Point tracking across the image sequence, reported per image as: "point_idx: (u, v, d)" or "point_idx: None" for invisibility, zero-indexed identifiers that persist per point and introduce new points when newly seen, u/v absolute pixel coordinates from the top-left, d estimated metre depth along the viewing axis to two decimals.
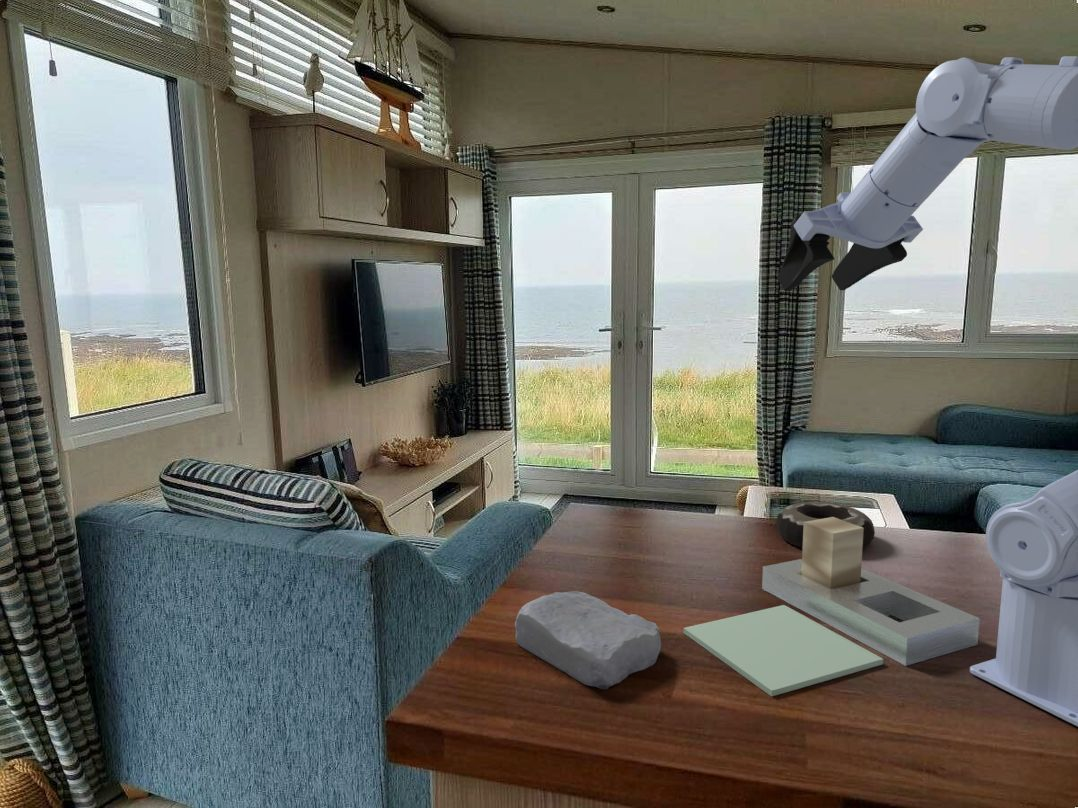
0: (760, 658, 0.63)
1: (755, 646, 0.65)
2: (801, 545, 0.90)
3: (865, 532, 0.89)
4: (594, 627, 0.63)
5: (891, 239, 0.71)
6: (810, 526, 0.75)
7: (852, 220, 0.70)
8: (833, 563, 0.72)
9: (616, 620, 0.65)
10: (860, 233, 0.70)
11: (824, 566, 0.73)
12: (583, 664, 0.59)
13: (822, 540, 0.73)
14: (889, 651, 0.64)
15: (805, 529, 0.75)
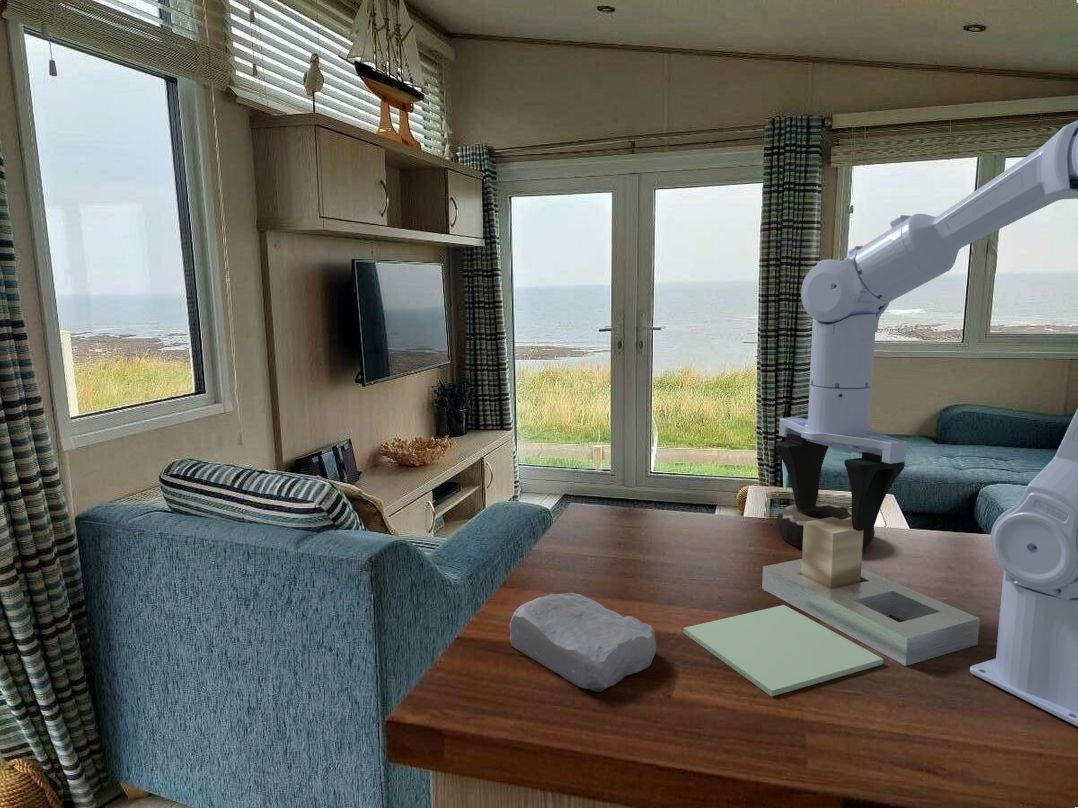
0: (760, 658, 0.63)
1: (755, 646, 0.65)
2: (801, 545, 0.90)
3: (865, 532, 0.89)
4: (588, 629, 0.63)
5: None
6: (810, 526, 0.75)
7: (865, 426, 0.71)
8: (833, 563, 0.72)
9: (611, 622, 0.64)
10: (869, 429, 0.72)
11: (824, 566, 0.73)
12: (578, 666, 0.59)
13: (822, 540, 0.73)
14: (889, 651, 0.64)
15: (805, 529, 0.75)
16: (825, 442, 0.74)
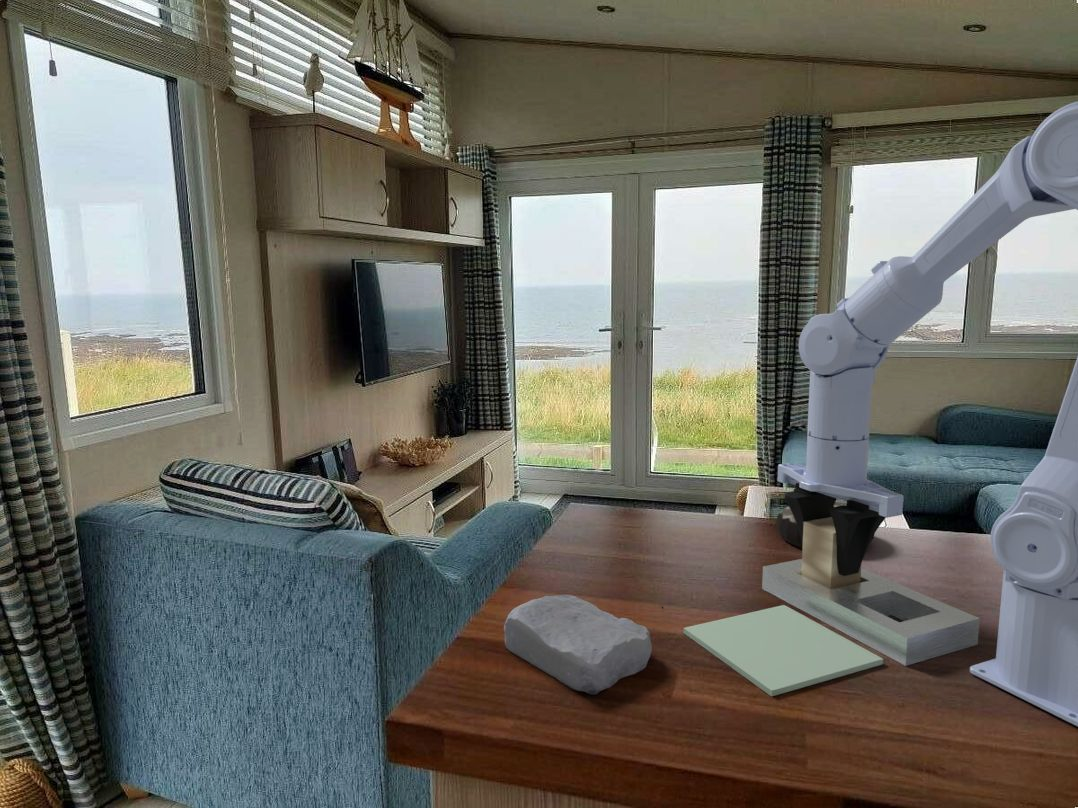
0: (760, 658, 0.63)
1: (755, 646, 0.65)
2: (801, 545, 0.90)
3: None
4: (583, 631, 0.62)
5: None
6: (810, 526, 0.75)
7: (863, 477, 0.71)
8: (833, 563, 0.72)
9: (606, 624, 0.64)
10: (866, 479, 0.73)
11: (824, 565, 0.73)
12: (573, 669, 0.59)
13: (822, 540, 0.73)
14: (889, 651, 0.64)
15: (805, 529, 0.75)
16: None
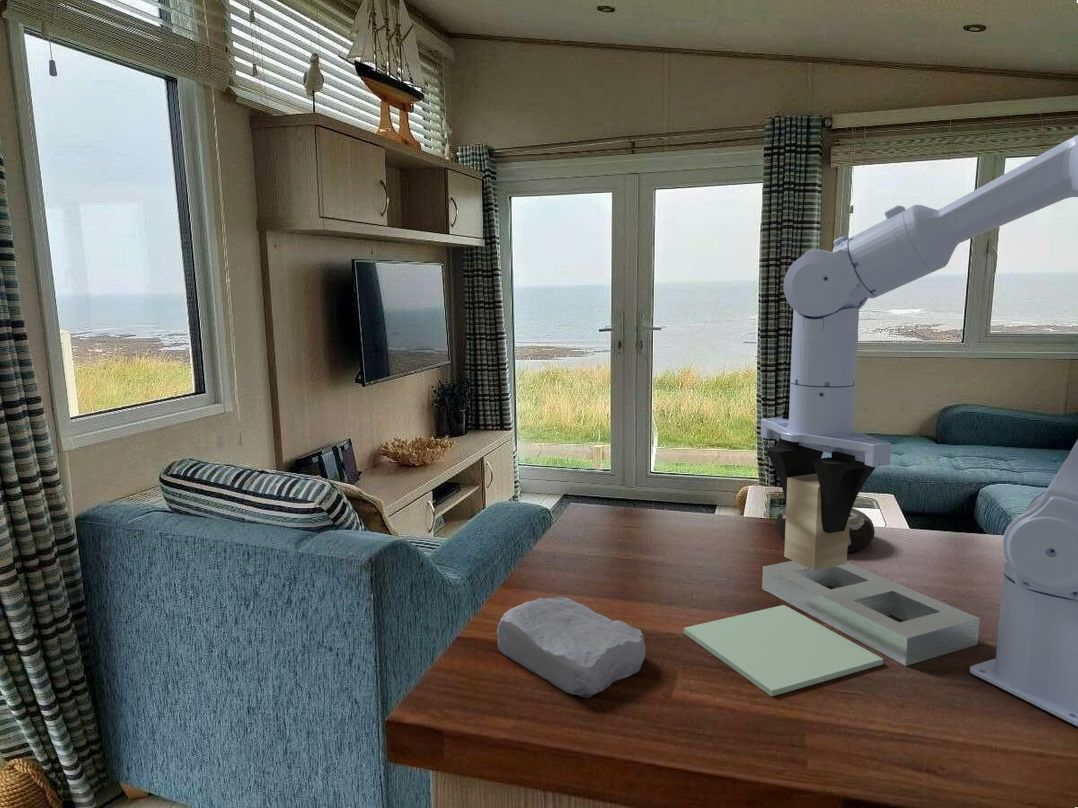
0: (760, 658, 0.63)
1: (755, 646, 0.65)
2: None
3: (865, 532, 0.89)
4: (577, 634, 0.62)
5: None
6: (794, 481, 0.70)
7: (849, 427, 0.67)
8: (817, 520, 0.68)
9: (600, 626, 0.63)
10: (853, 430, 0.68)
11: (808, 523, 0.69)
12: (566, 672, 0.58)
13: (806, 495, 0.69)
14: (889, 651, 0.64)
15: (789, 485, 0.71)
16: (807, 444, 0.70)
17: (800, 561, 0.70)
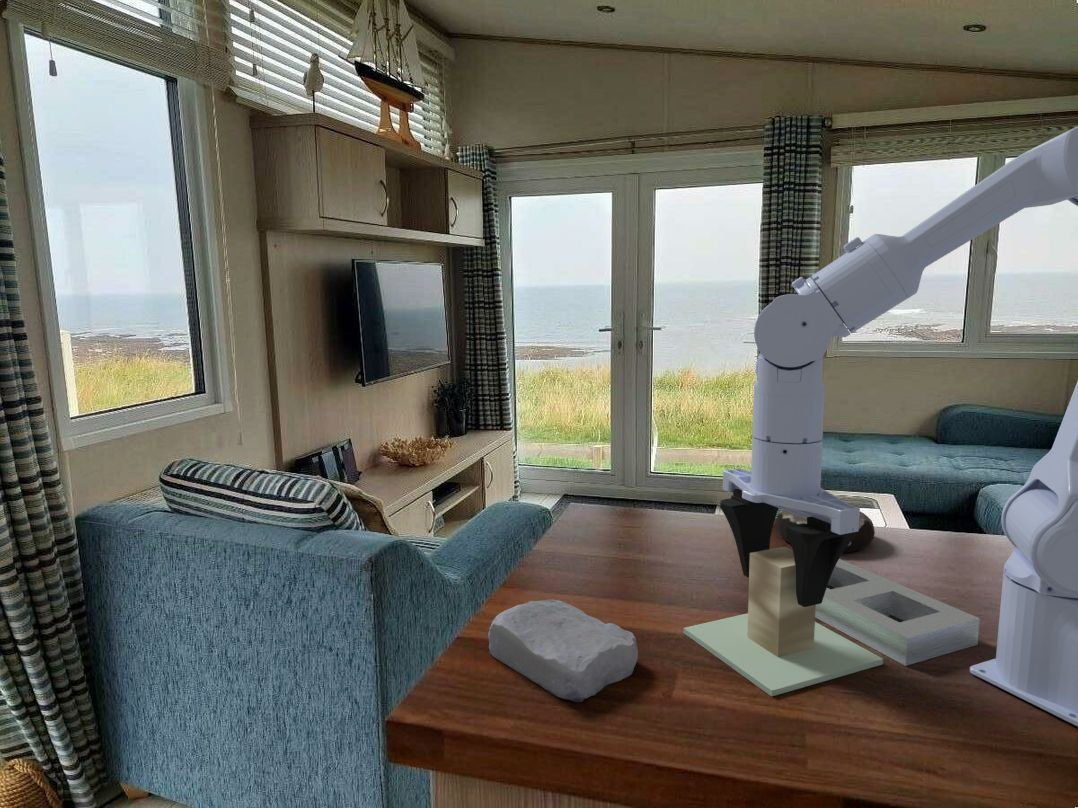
0: (760, 658, 0.63)
1: (755, 646, 0.65)
2: None
3: (865, 532, 0.89)
4: (569, 637, 0.61)
5: None
6: (756, 558, 0.65)
7: (815, 487, 0.61)
8: (781, 603, 0.62)
9: (592, 630, 0.63)
10: (820, 489, 0.62)
11: (772, 605, 0.63)
12: (557, 676, 0.58)
13: (769, 575, 0.63)
14: (889, 651, 0.64)
15: (752, 562, 0.65)
16: None
17: (763, 645, 0.65)
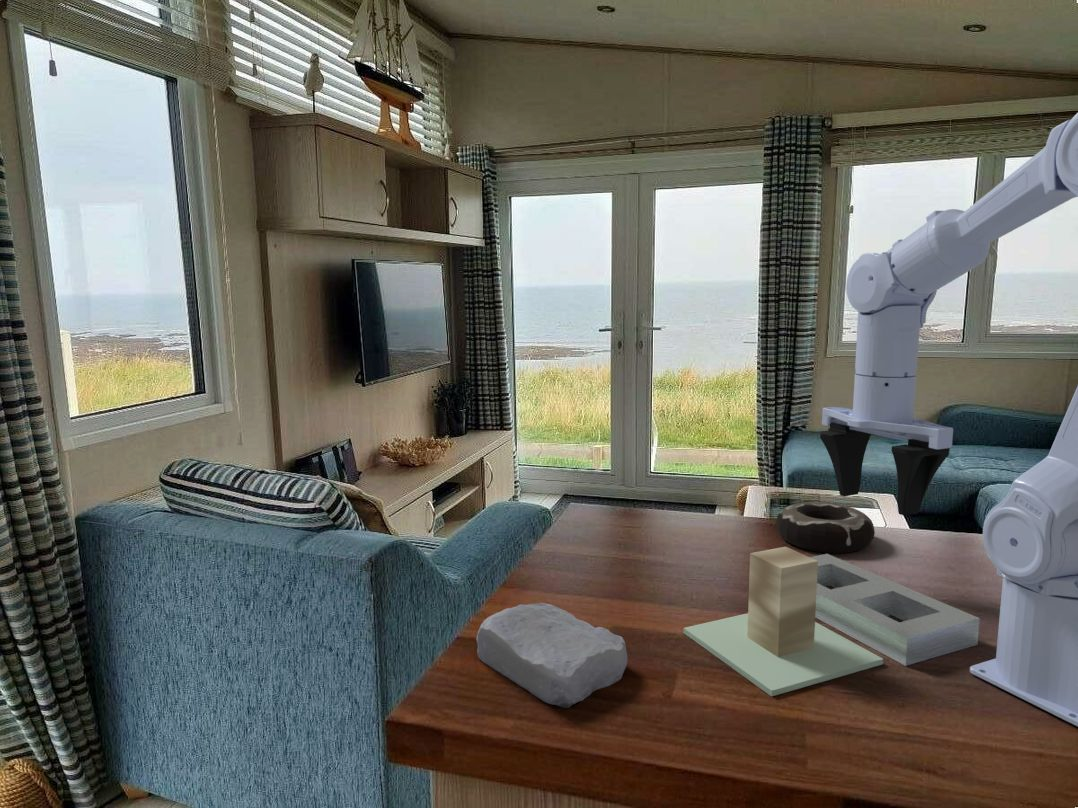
0: (760, 658, 0.63)
1: (755, 646, 0.65)
2: (801, 545, 0.90)
3: (865, 532, 0.89)
4: (557, 642, 0.61)
5: None
6: (757, 558, 0.65)
7: (910, 414, 0.73)
8: (781, 603, 0.62)
9: (581, 634, 0.62)
10: (913, 417, 0.74)
11: (772, 605, 0.63)
12: (544, 681, 0.57)
13: (769, 575, 0.63)
14: (889, 651, 0.64)
15: (752, 562, 0.65)
16: (869, 430, 0.76)
17: (763, 645, 0.65)
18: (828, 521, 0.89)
